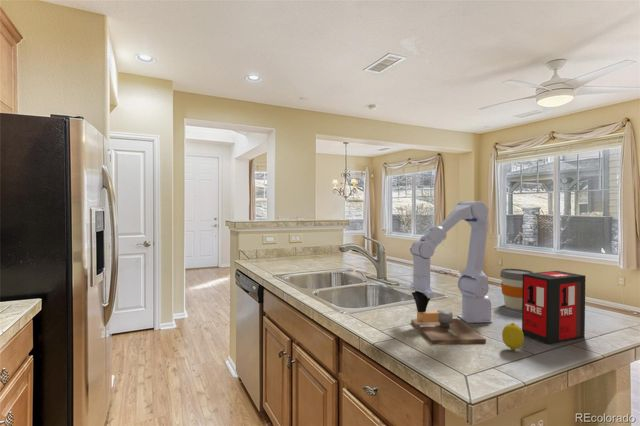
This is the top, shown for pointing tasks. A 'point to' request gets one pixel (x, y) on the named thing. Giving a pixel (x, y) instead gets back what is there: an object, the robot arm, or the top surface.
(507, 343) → the lemon
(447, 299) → the top surface
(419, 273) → the robot arm
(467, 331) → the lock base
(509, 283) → the reusable coffee cup
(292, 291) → the top surface
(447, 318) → the orange and grey bar
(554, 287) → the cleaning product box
